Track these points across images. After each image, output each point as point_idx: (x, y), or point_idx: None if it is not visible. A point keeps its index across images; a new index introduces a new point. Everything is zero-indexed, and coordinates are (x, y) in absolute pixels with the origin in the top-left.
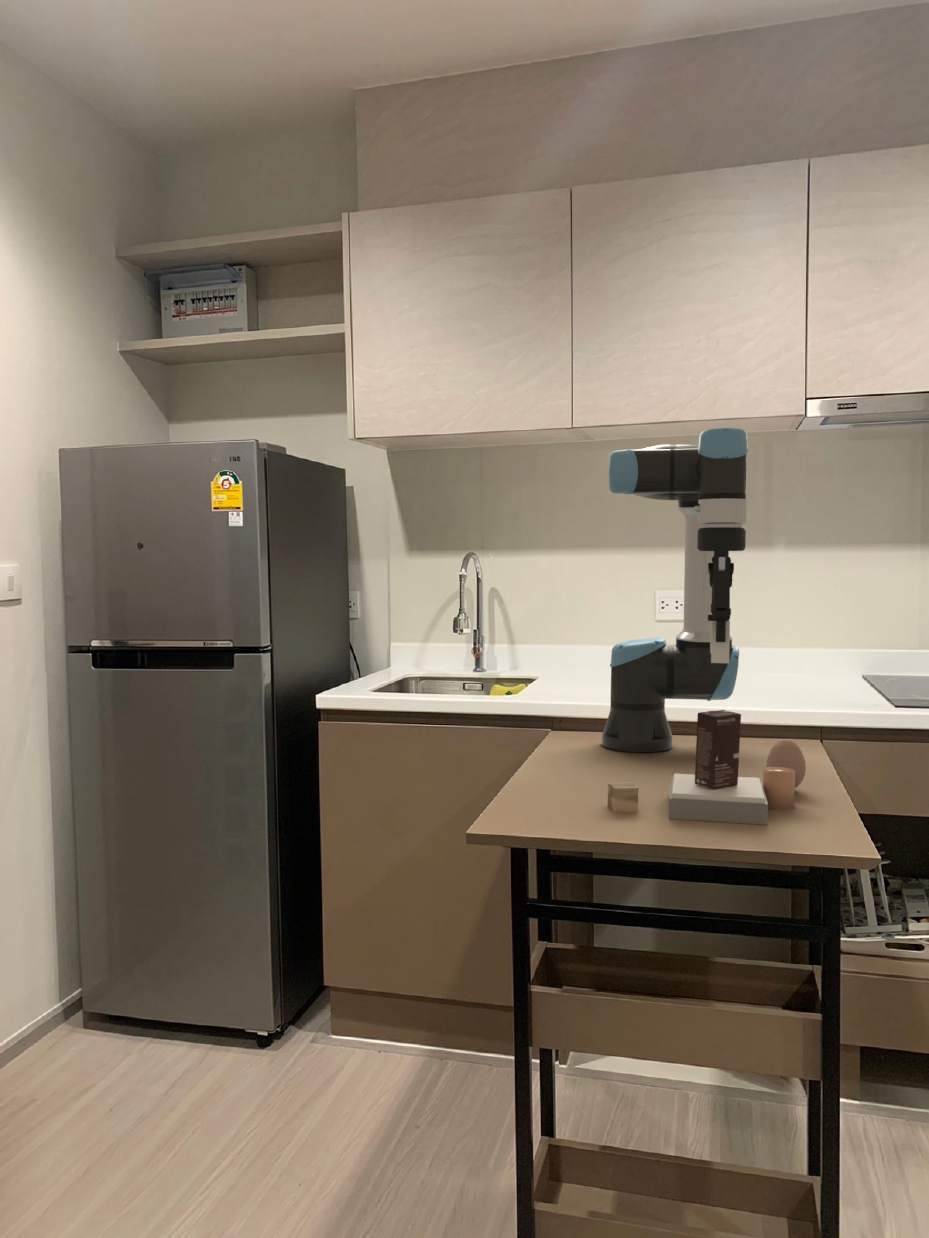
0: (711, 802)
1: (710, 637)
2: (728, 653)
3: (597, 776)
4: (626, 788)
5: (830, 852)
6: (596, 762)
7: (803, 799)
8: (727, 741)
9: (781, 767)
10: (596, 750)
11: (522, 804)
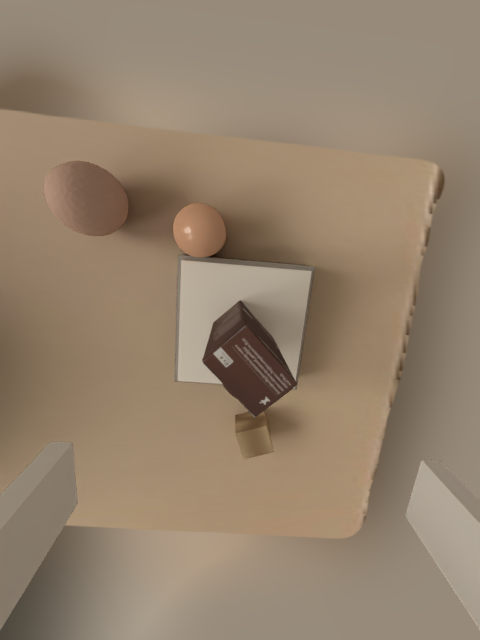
0: (303, 338)
1: (24, 589)
2: (474, 499)
3: (96, 453)
4: (269, 438)
5: (420, 207)
6: (10, 457)
7: (161, 189)
8: (266, 338)
9: (176, 222)
10: None
11: (251, 516)
